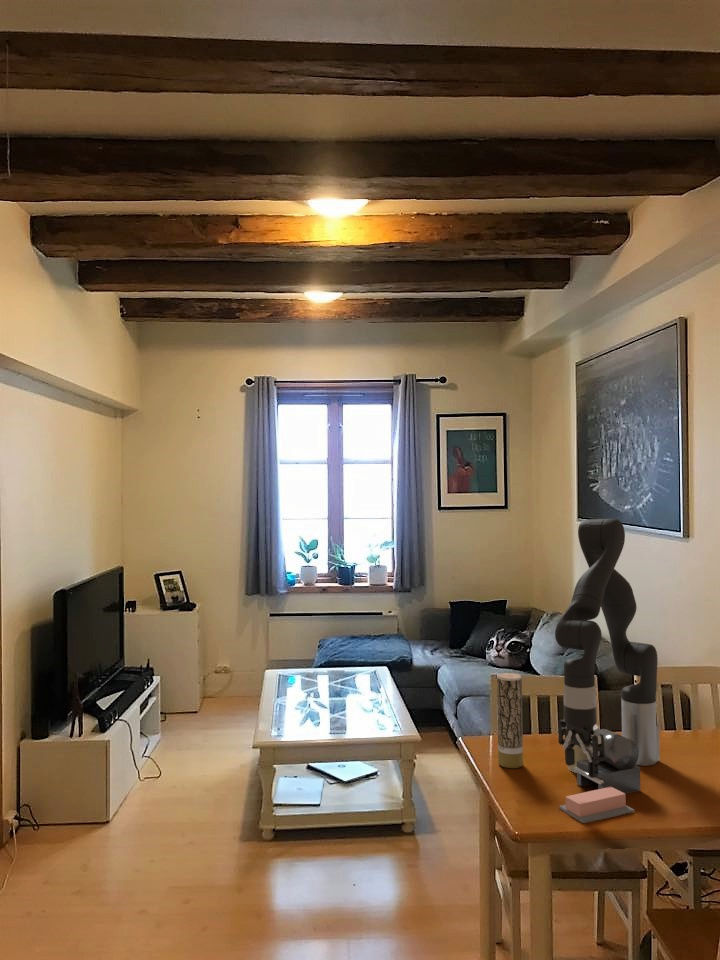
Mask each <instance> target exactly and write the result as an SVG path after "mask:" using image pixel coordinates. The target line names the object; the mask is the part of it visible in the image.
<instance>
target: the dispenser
mask: <svg viewBox="0 0 720 960" xmlns="http://www.w3.org/2000/svg"><path fill="white" fill-rule="evenodd" d="M595 734H596V735H600V734H602V735H603V737H604V751H605V760H604V761H599V762H598V776H597V777H594V778H591V777H589V776H588V761H589V760H588V759H587V760H582V761H577V767H574V771H575V772H577V774H576V779H577V780H576V783H577V784H578V786H579V785H580V786H579V787H585V786H591V785H595V784H597V790H598V789H602V788H607V787H613V788H615V789H617V790H619V791H621V792H623V793H625V794H626V795H627V794H630V793H635V792H641V766H640V765H636V763H637V760H638V757H639V750H638V747H637V745H636V743H635V742H634V741H632V740H630V739H628V738H625V737H623V736H622V734H618V733H615V732H614V731H612V730H609V729H605V728H601V729H599V730H598V731H597V732H596V733H595ZM590 747H592V746H591V744H590ZM591 753H592V752H591ZM592 755H593V753H592ZM598 755H600V751H598Z"/></svg>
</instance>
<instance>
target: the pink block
mask: <svg viewBox="0 0 720 960" xmlns="http://www.w3.org/2000/svg"><path fill="white" fill-rule="evenodd" d="M626 795H627V794H625V793H623V792H621V791H619V790H617V789H615V788H613V787H607V788H602V789H598V788H597V789H594V790H588V791H584V792H581V793H576V794H571V795H567V796H565V805H566V809H567V810H568V811H570V812H572V813H573V814H575V815H577V816H579V817H582V816H586V815H591V814H595V813H599V812H603V811H608V810H612V809H616V808H620V807H624V806H626V803H627V802H626V798H627V797H626Z"/></svg>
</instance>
